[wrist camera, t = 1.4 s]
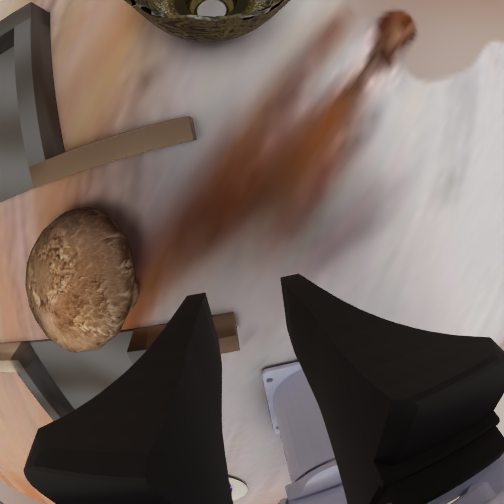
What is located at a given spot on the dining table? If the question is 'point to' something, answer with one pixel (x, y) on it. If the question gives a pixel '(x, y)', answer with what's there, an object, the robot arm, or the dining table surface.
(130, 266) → the mushroom
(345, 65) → the dining table surface
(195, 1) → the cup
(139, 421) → the robot arm
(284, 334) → the dining table surface
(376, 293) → the dining table surface
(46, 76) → the grey brown flat frame
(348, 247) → the dining table surface
